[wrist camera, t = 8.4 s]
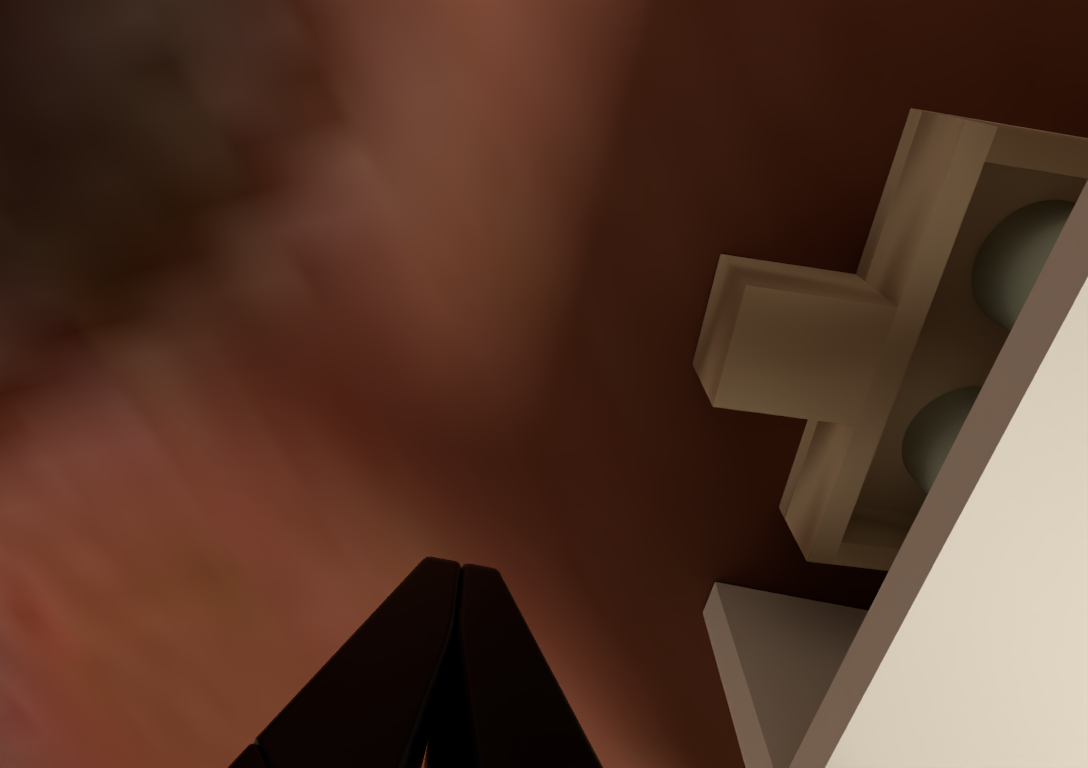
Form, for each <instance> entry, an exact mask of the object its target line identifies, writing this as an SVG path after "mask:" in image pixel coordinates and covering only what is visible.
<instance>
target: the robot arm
mask: <svg viewBox="0 0 1088 768" xmlns="http://www.w3.org/2000/svg"><path fill="white" fill-rule="evenodd" d="M426 746H427V748H426ZM425 751H426V756H425V763H424V768H603V767H602V765H601V763H600V761H599V759H598V757H597V755H596V754H595V752H594V750H593V748H592V746H591V744H590V742H589V740H588V739H587V737H586V735H585V733H584V731H583V729H582V727H581V725H580V723H579V722H578V720H577V718H576V716H575V714H574V712H573V710H572V708H571V706H570V705H569V703H568V701H567V699H566V697H565V695H564V693H563V691H562V689H561V688H560V686H559V684H558V682H557V680H556V678H555V676H554V674H553V672H552V671H551V669H550V667H549V665H548V663H547V661H546V659H545V657H544V656H543V654H542V652H541V650H540V648H539V646H538V644H537V642H536V640H535V639H534V637H533V635H532V633H531V631H530V629H529V627H528V625H527V623H526V622H525V620H524V618H523V616H522V614H521V612H520V610H519V608H518V606H517V605H516V603H515V601H514V599H513V597H512V595H511V593H510V591H509V589H508V588H507V586H506V584H505V582H504V580H503V578H502V576H501V574H500V573H499V571H498V570H496V569H494V568H490V567H485V566H479V565H474V564H465V565H463V566H462V568H461V566H460V564H459V563H458V562H456V561H452V560H446V559H441V558H436V557H426V558H424V559H423V560H422V561H421V562H420V563H419V564H418V565H417V566H416V567H415V569H414V570H413V571H412V572H411V573H410V574H409V575H408V576H407V577H406V578H405V579H404V580H403V581H402V582H401V583H400V585H399V586H398V587H397V588H396V589H395V590H394V591H393V592H392V593H391V594H390V595H389V596H388V597H387V598H386V600H385V601H384V602H383V603H382V604H381V605H380V606H379V607H378V608H377V609H376V610H375V611H374V612H373V613H372V614H371V616H370V617H369V618H368V619H367V620H366V621H365V622H364V623H363V624H362V625H361V626H360V627H359V628H358V629H357V631H356V632H355V633H354V634H353V635H352V636H351V637H350V638H349V639H348V640H347V641H346V642H345V643H344V644H343V645H342V647H341V648H340V649H339V650H338V651H337V652H336V653H335V654H334V655H333V656H332V657H331V658H330V659H329V660H328V661H327V663H326V664H325V665H324V666H323V667H322V668H321V669H320V670H319V671H318V672H317V673H316V674H315V675H314V676H313V678H312V679H311V680H310V681H309V682H308V683H307V684H306V685H305V686H304V687H303V688H302V689H301V690H300V691H299V692H298V694H297V695H296V696H295V697H294V698H293V699H292V700H291V701H290V702H289V703H288V704H287V705H286V706H285V707H284V709H283V710H282V711H281V712H280V713H279V714H278V715H277V716H276V717H275V718H274V719H273V720H272V721H271V722H270V723H269V725H268V726H267V727H266V728H265V729H264V730H263V731H262V732H261V733H260V734H259V735H258V736H257V737H256V739H255V741H254V744H250V745H248V746H247V748H246V749H245V750H244V751H243V752H242V753H241V754H240V755H239V756H238V757H237V758H236V759H235V760H234V761H233V763H232V764H231V765H230V766H229V767H228V768H421V767H422V763H423V759H424V755H425Z"/></svg>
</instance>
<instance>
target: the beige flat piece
mask: <svg viewBox="0 0 1088 768" xmlns="http://www.w3.org/2000/svg"><path fill="white" fill-rule="evenodd" d="M1087 180H1088V138H1084V137H1078V136H1072V135H1066V134H1060V133H1054V132H1048V131H1043V130H1037V129H1031V128H1025V127H1019V126H1013V125H1007V124H1001V123H995V122H990V121H984V120H978V119H972V118H966V117H960V116H954V115H948V114H942V113H936V112H931V111H925V110H919V109H913V108H911V109H910V112H909V115H908V118H907V121H906V124H905V127H904V130H903V133H902V136H901V139H900V142H899V145H898V148H897V151H896V154H895V157H894V160H893V163H892V166H891V169H890V172H889V175H888V178H887V181H886V184H885V187H884V190H883V193H882V196H881V199H880V203H879V206H878V209H877V212H876V215H875V218H874V221H873V224H872V227H871V230H870V233H869V236H868V239H867V242H866V245H865V248H864V251H863V254H862V257H861V260H860V263H859V266H858V269H857V272H856V274H851V273H844V272H838V271H831V270H824V269H818V268H811V267H804V266H798V265H791V264H784V263H778V262H771V261H764V260H757V259H751V258H744V257H737V256H731V255H724V254H720V258H719V262H718V266H717V269H716V273H715V277H714V281H713V285H712V289H711V293H710V297H709V301H708V305H707V309H706V313H705V317H704V321H703V324H702V328H701V332H700V336H699V340H698V344H697V348H696V352H695V356H694V360H693V364H692V365H693V367H694V369H695V371H696V373H697V375H698V377H699V379H700V381H701V383H702V385H703V387H704V390H705V392H706V394H707V396H708V398H709V400H710V402H711V404H712V406H713V407H718V408H726V409H734V410H741V411H749V412H756V413H764V414H771V415H779V416H786V417H794V418H801V419H808V420H807V423H806V427H805V430H804V433H803V436H802V439H801V442H800V445H799V448H798V451H797V454H796V457H795V460H794V463H793V466H792V469H791V472H790V475H789V478H788V481H787V484H786V487H785V490H784V493H783V496H782V499H781V502H780V505H779V509H780V511H781V513H782V515H783V517H784V518H785V520H786V522H787V524H788V526H789V528H790V530H791V532H792V534H793V536H794V538H795V540H796V542H797V544H798V546H799V547H800V549H801V551H802V553H803V555H804V557H805V559H806V561H808V562H816V563H825V564H834V565H842V566H851V567H859V568H868V569H876V570H885V571H889V570H890V568H891V566H892V564H893V562H894V560H895V558H896V556H897V554H898V552H899V550H900V548H901V546H902V544H903V542H904V540H905V538H906V536H907V534H908V532H909V530H910V528H911V526H912V524H913V522H914V521H915V519H916V517H917V515H918V513H919V511H920V509H921V507H922V505H923V503H924V501H925V499H926V497H927V496H926V495H925V493H924V492H923V491H922V489H921V488H920V487H919V486H918V484H917V483H916V482H915V481H914V479H913V478H912V477H911V475H910V474H909V473H908V471H907V469H906V467H905V465H904V462H903V459H902V443H903V438H904V435H905V432H906V430H907V428H908V426H909V424H910V423H911V421H912V420H913V418H914V417H915V416H916V415H917V413H918V412H919V411H920V410H921V409H922V408H923V407H925V406H926V405H927V404H928V403H930V402H931V401H933V400H934V399H936V398H937V397H939V396H941V395H943V394H946V393H948V392H951V391H954V390H957V389H961V388H968V387H983V385H984V383H985V381H986V379H987V377H988V375H989V373H990V371H991V369H992V367H993V365H994V363H995V361H996V359H997V357H998V355H999V353H1000V351H1001V349H1002V347H1003V345H1004V344H1005V342H1006V340H1007V338H1008V336H1009V334H1010V332H1011V331H1009V330H1007V329H1006V328H1004V327H1002V326H1000V325H999V324H997V323H995V322H994V321H992V320H991V319H989V318H988V317H987V316H986V315H985V314H984V313H983V312H982V311H981V310H980V308H979V306H978V305H977V303H976V300H975V298H974V294H973V290H972V272H973V266H974V263H975V259H976V257H977V254H978V252H979V250H980V248H981V246H982V244H983V243H984V241H985V240H986V238H987V237H988V235H989V234H990V233H991V232H992V231H993V229H994V228H995V227H996V226H997V225H998V224H999V223H1000V222H1002V221H1003V220H1004V219H1005V218H1006V217H1008V216H1009V215H1011V214H1012V213H1014V212H1015V211H1017V210H1019V209H1021V208H1023V207H1025V206H1027V205H1030V204H1033V203H1036V202H1040V201H1045V200H1065V201H1070V202H1074V203H1076V202H1077V200H1078V198H1079V196H1080V194H1081V192H1082V190H1083V188H1084V186H1085V184H1086V182H1087Z"/></svg>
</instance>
